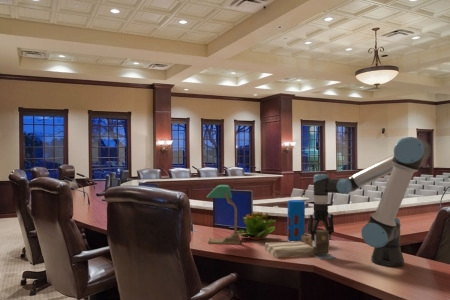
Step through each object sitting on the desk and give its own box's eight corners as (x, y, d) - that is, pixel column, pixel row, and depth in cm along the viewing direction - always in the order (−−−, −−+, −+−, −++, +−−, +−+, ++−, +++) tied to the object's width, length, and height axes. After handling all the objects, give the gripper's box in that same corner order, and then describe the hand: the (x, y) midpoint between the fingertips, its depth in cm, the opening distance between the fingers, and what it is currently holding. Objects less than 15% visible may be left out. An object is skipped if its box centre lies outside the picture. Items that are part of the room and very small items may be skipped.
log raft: (327, 254, 193) (327, 247, 193) (276, 257, 185) (276, 250, 186) (313, 247, 208) (313, 240, 208) (265, 250, 201) (265, 242, 201)
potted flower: (245, 232, 247) (246, 207, 248) (279, 235, 239) (279, 209, 240) (234, 240, 224) (234, 212, 224) (271, 244, 216) (271, 215, 216)
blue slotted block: (304, 242, 220) (304, 202, 220) (287, 241, 222) (287, 201, 223) (304, 238, 230) (304, 200, 231) (287, 237, 233) (287, 199, 233)
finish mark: (336, 258, 185) (336, 257, 185) (320, 259, 183) (320, 258, 183) (328, 254, 192) (328, 253, 192) (313, 255, 190) (313, 254, 190)
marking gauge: (329, 253, 187) (329, 231, 187) (318, 254, 185) (318, 232, 185) (310, 244, 207) (310, 224, 208) (299, 244, 205) (299, 224, 206)
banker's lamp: (240, 245, 211) (240, 186, 211) (205, 245, 211) (206, 186, 212) (239, 239, 226) (240, 184, 227) (207, 239, 227) (207, 184, 228)
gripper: (333, 201, 196) (333, 243, 195) (300, 202, 191) (300, 245, 190) (341, 203, 189) (341, 246, 188) (307, 204, 184) (307, 249, 183)
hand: (320, 246), depth 189 cm, fingers closed on marking gauge, 7 cm apart
